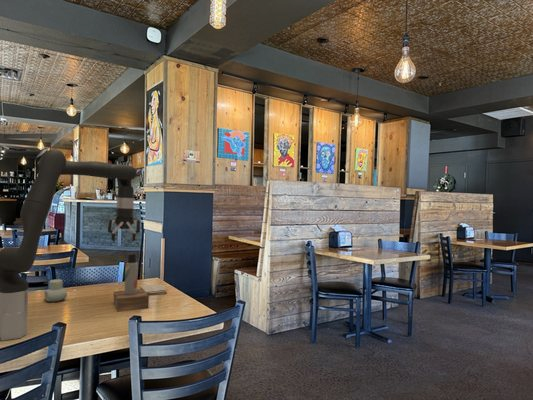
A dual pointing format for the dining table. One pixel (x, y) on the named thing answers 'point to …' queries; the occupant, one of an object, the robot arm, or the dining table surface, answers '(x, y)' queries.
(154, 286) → the washcloth
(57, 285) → the air freshener
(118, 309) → the block
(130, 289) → the lotion bottle
